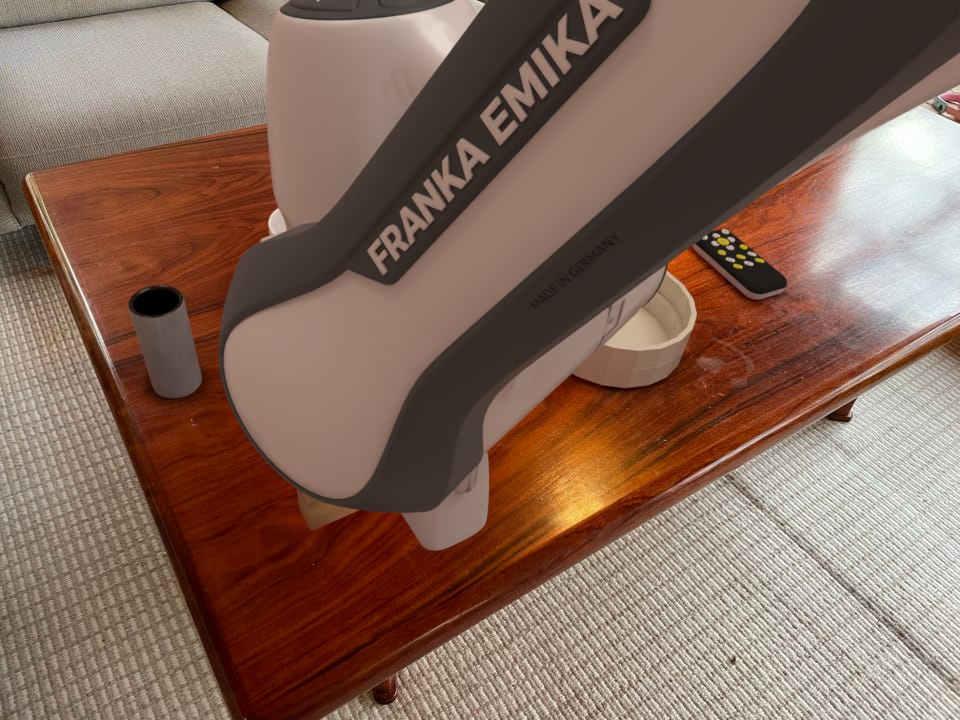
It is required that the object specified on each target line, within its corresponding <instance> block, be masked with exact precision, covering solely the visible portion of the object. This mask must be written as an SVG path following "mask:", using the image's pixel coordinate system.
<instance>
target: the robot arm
mask: <svg viewBox="0 0 960 720" xmlns="http://www.w3.org/2000/svg"><path fill="white" fill-rule="evenodd" d="M268 41H269V42H268V48H267V56H266V70H265V71H266V73H265V106H266V107H265V110H266V111H265V112H266V113H265V115H266V130H267V145H268V156H269V167H270V177H271V186H272V191H273V196H274V200H275V202H276V205H277V209H278V208H279V210H280V212H281V214H282V216H283V218H284V221H285V225H286V231H283V232H280V233H277V234H274V235H271V236H270V235H267V236H265V237H262V238H261V239H260V240H259V243H256V244H254V245H251V246H250V247H248V248H247V249H246V250H245V251H244V252H242V254H241V256H240V257H239V259H238V262H237V264H236V267H235V270H234V272H233V275H232V278H231V280H230V283H229V286H228V290H227V294H226V297H225V300H224V305H223V310H222V315H221V322H220V326H219V327H220V328H219V336H218V348H217V362H218V370H219V374H220V379H221V380H220V381H221V384H222V388H223V391H224V394H225V396H226V400H227V402H228V404H229V406H230V409H231V410H232V413H233V415H234V417H235V419H236V421H237V423H238V425H239V426H240V428H241V429H242V431H243V433H244V434H245V436H246V437H247V439H248V441H249V442H250V443H251V445H252V446H253V447H254V449H255V450H256V451H257V453H258V454H259V455H260V456H261V457H262V459H263V460H264V461H265V462H266V463H267V465H268V466H269V467H271V468H272V469H273V471H275V472H276V473H277V474H278V475H279V476H280V477H281V478H282V479H283V480H285V482H287V483H288V484H289V485H291V486H292V487H294V489H296V490H297V489H298V490H300V491H301V492H303V493H304V494H306V495H308V496H310V497H312V498H314V499H316V500H318V501H321V502H324V503H327V504H331V505H335V506H340V507H345V508H351V509H356V510H358V511H362V512H363V511H364V512H373V513H393V514H394V513H395V514H401V516H402V518H403V519H404V520H405V522H406V523H407V525H408V527H409V528H410V530H411V532H412V533H413V534H414V535H415V537H416V539H417V540H418V542H419V544H420V545H421V546H422V547H423V548H424V549H425V550H428V551H436V552H437V551H441V550H445V549H448V548H451V547H452V546H454V545H455V546H456V544H459V543H461V542H463V541H465V540H467V539H469V538H470V537H473V536H474V535H475V534H477V533H478V532H479V531H481V530H482V529H483V528H484V527H485V525H486V523H487V519H488V514H489V513H488V512H489V500H490V499H489V498H490V466H489V465H490V463H489V453H488V451H490V450H491V448H493V447H494V446H495V445H496V444H497V443H499V441H500V440H502V439H503V438H504V437H505V436H506V435H507V434H508V433H509V432H510V431H511V430H513V428H515V426H517V425H518V424H519V423H520V422H521V421H522V420H523V419H524V418H525V417H527V416H528V415H529V414H530V413H531V412H532V411H533V410H534V409H535V408H536V407H537V406H538V405H540V404H541V403H542V402H543V401H544V400H545V399H546V398H548V396H550V394H551V393H552V392H554V390H556V389H557V388H558V387H559V386H560V385H561V384H562V383H563V382H565V380H567V379H568V378H569V377H570V376H571V375H573V374H572V373H573V372H574V371H575V370H576V369H577V368H578V367H579V366H580V365H582V364H583V363H584V362H585V361H586V360H587V359H588V358H590V357H591V356H592V355H593V354H594V353H595V352H596V351H598V350H599V349H600V348H601V347H602V346H603V345H604V344H605V343H606V342H607V341H608V340H610V339H611V338H612V337H613V336H614V335H615V334H616V333H617V332H618V331H619V330H620V329H621V328H622V327H623V326H624V325H625V324H626V323H627V322H628V321H629V320H630V319H631V318H633V317H634V316H635V315H636V314H637V313H638V312H639V310H640V309H641V308H643V307H644V306H645V305H646V304H647V303H648V302H649V301H650V300H651V299H652V298H653V297H654V296H655V294H656V293H657V291H658V290H659V288H660V286H661V284H662V282H663V280H664V277H665V274H666V271H668V266H669V263H671V262H672V261H674V260H675V259H676V258H678V257H679V256H680V255H682V254H683V253H684V252H686V251H688V250H689V249H690V248H691V247H693V246H692V245H694V244H695V243H696V242H698V241H699V240H701V239H702V238H703V237H705V236H706V235H707V234H709V233H710V232H712V231H715V230H717V228H719V227H720V226H721V225H723V224H724V223H726V222H727V221H729V220H730V219H731V218H733V217H734V216H735V215H737V214H738V213H740V212H741V211H743V210H744V209H745V208H747V207H749V205H751V204H752V203H754V202H755V201H756V200H758V199H760V198H761V197H762V196H763V195H765V194H766V193H768V192H769V191H772V189H774V188H776V187H778V186H779V185H780V184H782V183H784V182H786V181H787V180H788V179H791V178H792V177H794V176H795V175H797V174H798V173H801V172H802V171H804V170H805V169H807V168H809V167H811V166H812V165H814V164H816V163H817V162H819V161H821V160H823V159H824V158H826V157H827V156H829V155H831V154H833V153H835V152H837V151H838V150H840V149H842V148H844V147H846V146H848V145H849V144H851V143H852V142H855V141H856V140H858V139H860V138H861V137H864V136H866V135H867V134H869V133H871V132H873V131H874V130H876V129H878V128H881V127H883V126H884V125H886V124H887V123H889V122H891V121H893V120H895V119H897V118H899V117H901V116H903V115H904V114H906V113H908V112H910V111H912V110H914V109H916V108H918V107H920V106H922V105H923V104H925V103H927V102H929V101H932V100H934V99H935V98H937V97H939V96H941V95H944V93H947V92H949V91H951V90H952V89H954V88H957V87H959V86H960V0H486V2H485V4H484V5H483V6H482V7H481V9H480V10H479V12H478V13H477V12H476V10H475V8H474V6H473V4H472V3H471V1H470V0H288V1H286V2H285V3H284V4H283V5H282V6H280V8H279V9H278V10H277V12H276V14H275V16H274V19H273V22H272V25H271V30H270V34H269V40H268Z"/></svg>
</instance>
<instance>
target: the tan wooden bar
mask: <svg viewBox="0 0 960 720" xmlns="http://www.w3.org/2000/svg"><path fill="white" fill-rule="evenodd" d="M296 495H297V501H298V509H299V511H300V514H301V515H302V517H303V519H304V520H305V523H306V525H307V526H308V528H309V530H310V531H311V532H313V531H315V530H317V529H320V528H322V527H324V526H326V525H329V524H331V523H333V522H335V521H338V520H340V519H343V518H345V517H347V516H349V515H351V514H354V513H356V512H358V511H359V510H356V509H351V508H345V507H340V506H335V505H331V504H327V503H324V502H321V501H318V500H316V499H314V498H312V497H310V496H308V495H306V494H304V493H303V492H301V491H300V490H298V489H297V488H296Z"/></svg>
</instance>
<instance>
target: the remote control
mask: <svg viewBox="0 0 960 720" xmlns="http://www.w3.org/2000/svg"><path fill="white" fill-rule="evenodd" d="M691 247H692V249H693V250H694V252H695V253H697V254H698V256H699V257H701V258H702V259H703V260H704V261H706V263H707V264H709V265H710V266H711V267H712V268H714V269H715V270H716V271H717V272H718V273H719V274H720V275H721V276H722V277H723V278H725V280H727V281H728V282H729V283H730V284H731V285H732V286H734V287H735V288H736V289H737V290H738V291H739V292H740V293H742V294H743V295H744V296H745V297H746V298H747V299H750V300H753V301H760V300H763V299H767V298H770V297H773V296H774V297H775V296H777V295H781V294H782V293H783V292H785V290H786V289H787V286H788V280H787V278H786V277H785V275H784V274H782V273H781V272H780V271H779V270H777V269H776V268H775V267H774V266H773V265H772V264H770V263H769V262H768V261H767V260H765V258H763V257H762V256H761V255H759V254H758V253H757V252H756V251H755V250H753V249H752V247H750V246H749V245H747V244H746V243H745V242H744V241H743V240H742V239H740V238H739V237H738V236H736V235H735V234H734V233H733V232H731V231H729V230H728V229H725V228H723V229H714V230H713V231H712V232H710V233H709V234H707V235H706V236H705V237H703V238H702V239H701V240H699V241H698V242H696V243H695V244H694V245H692V246H691Z"/></svg>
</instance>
